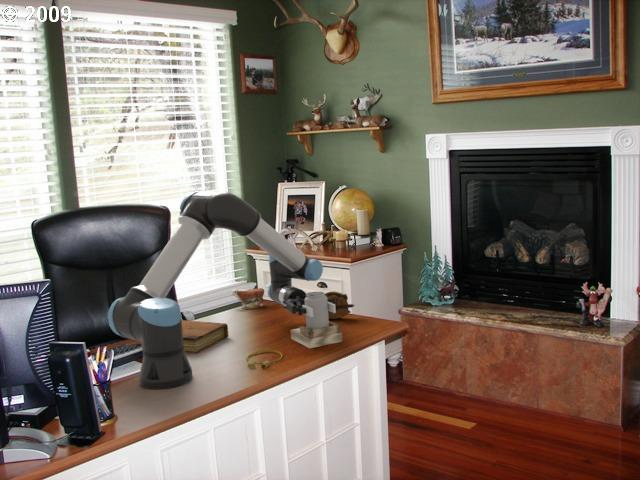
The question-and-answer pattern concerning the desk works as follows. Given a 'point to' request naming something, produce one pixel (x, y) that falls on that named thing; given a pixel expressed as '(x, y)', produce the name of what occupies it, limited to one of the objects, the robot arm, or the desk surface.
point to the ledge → (317, 335)
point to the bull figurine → (249, 295)
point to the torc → (264, 364)
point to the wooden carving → (339, 304)
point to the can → (317, 310)
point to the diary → (202, 335)
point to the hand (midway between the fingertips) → (323, 310)
